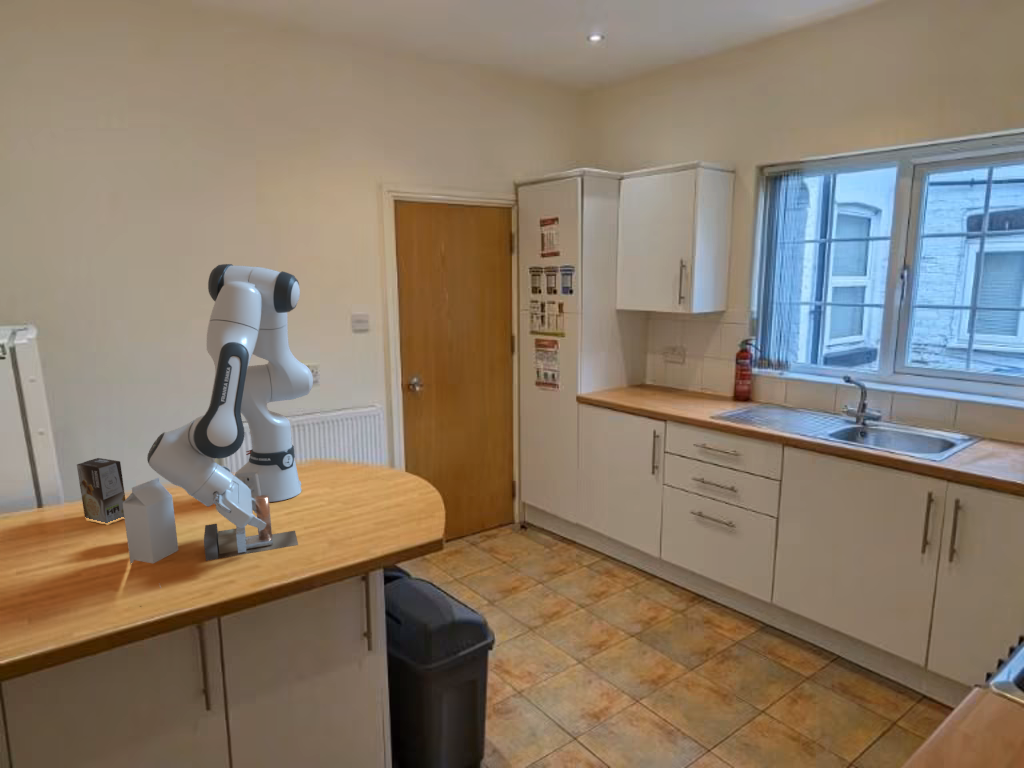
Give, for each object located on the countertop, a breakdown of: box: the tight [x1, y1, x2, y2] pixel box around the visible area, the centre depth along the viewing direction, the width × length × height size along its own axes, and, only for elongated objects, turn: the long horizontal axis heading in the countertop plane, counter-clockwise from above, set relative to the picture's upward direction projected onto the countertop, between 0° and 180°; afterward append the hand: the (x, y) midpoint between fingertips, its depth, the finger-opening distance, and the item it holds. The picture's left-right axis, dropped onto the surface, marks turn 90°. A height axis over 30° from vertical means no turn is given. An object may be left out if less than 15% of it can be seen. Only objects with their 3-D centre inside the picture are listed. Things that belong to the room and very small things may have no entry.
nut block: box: [218, 528, 238, 554], centre depth 151 cm, size 4×4×4 cm
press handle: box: [235, 495, 273, 553], centre depth 152 cm, size 8×8×11 cm
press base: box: [203, 523, 299, 562], centre depth 153 cm, size 20×9×6 cm, turn 113°
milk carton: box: [123, 477, 179, 564], centre depth 147 cm, size 7×7×19 cm
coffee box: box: [76, 457, 126, 523], centre depth 172 cm, size 9×6×16 cm
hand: (263, 519), depth 153 cm, fingers open, 8 cm apart
